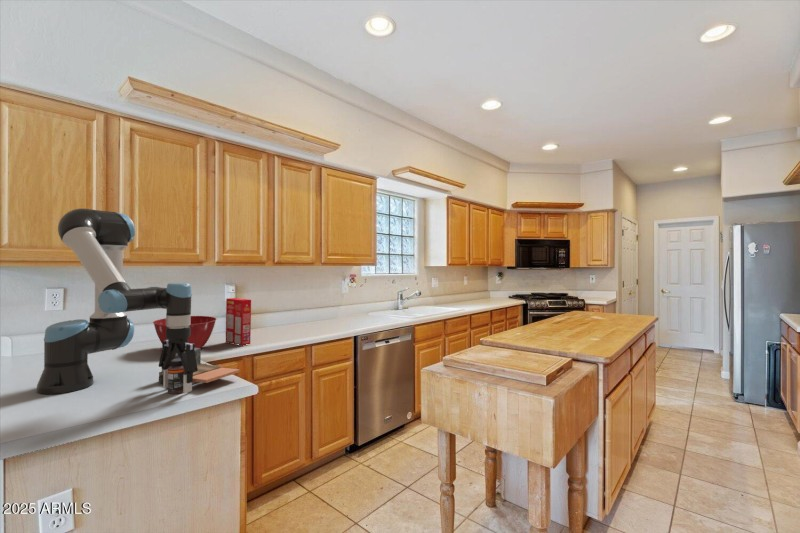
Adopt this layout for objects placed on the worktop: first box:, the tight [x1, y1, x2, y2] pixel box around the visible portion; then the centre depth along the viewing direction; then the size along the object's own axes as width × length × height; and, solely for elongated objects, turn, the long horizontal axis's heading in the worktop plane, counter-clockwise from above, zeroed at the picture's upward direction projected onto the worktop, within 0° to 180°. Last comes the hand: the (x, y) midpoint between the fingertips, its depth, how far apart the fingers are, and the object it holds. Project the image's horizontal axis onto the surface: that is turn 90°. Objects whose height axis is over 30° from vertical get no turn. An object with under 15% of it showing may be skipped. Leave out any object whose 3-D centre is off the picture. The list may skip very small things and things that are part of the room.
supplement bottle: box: [167, 358, 185, 395], centre depth 133 cm, size 6×6×11 cm
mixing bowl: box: [152, 315, 217, 349], centre depth 194 cm, size 28×28×16 cm
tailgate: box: [193, 367, 241, 384], centre depth 142 cm, size 15×2×10 cm
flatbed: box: [158, 348, 222, 385], centre depth 148 cm, size 19×14×10 cm
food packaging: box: [225, 297, 252, 346], centre depth 210 cm, size 15×5×25 cm, turn 58°
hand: (177, 389), depth 133 cm, fingers open, 10 cm apart
